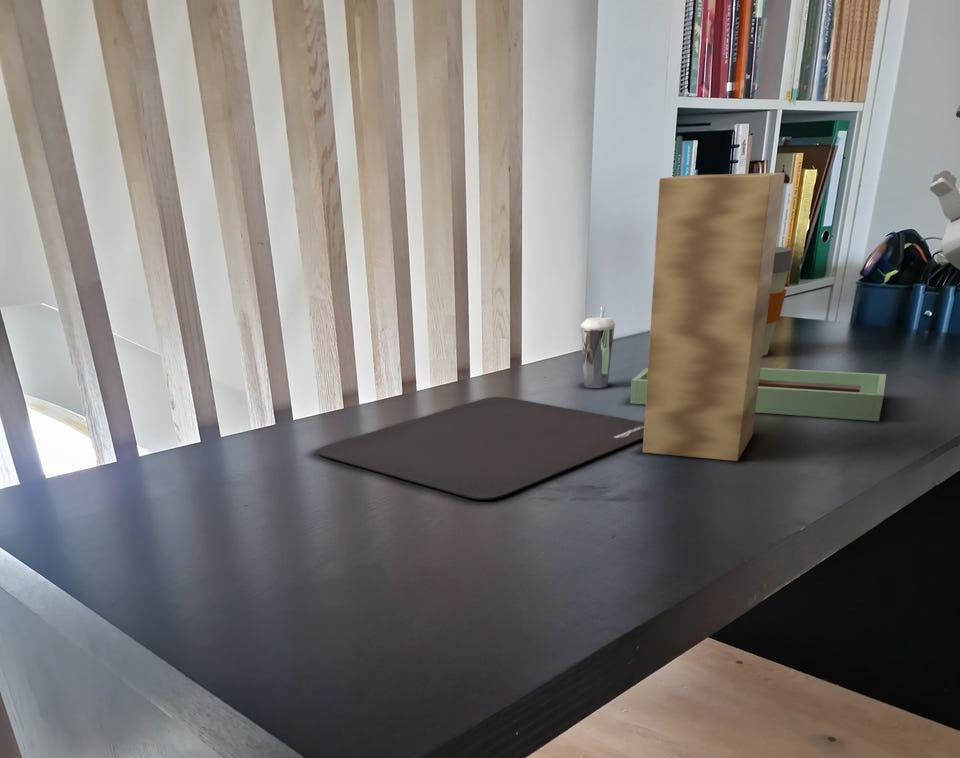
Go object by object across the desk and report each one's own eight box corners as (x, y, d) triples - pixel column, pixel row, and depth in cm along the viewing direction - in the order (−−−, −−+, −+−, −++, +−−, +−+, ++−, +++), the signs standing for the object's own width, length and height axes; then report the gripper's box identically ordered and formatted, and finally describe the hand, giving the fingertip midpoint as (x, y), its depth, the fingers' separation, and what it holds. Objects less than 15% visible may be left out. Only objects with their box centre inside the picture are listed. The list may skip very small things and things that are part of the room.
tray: (881, 398, 109) (886, 374, 107) (878, 421, 100) (883, 395, 98) (652, 384, 120) (653, 361, 118) (630, 403, 111) (631, 380, 109)
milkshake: (616, 381, 122) (619, 306, 117) (608, 390, 117) (611, 313, 112) (584, 380, 123) (586, 306, 118) (576, 388, 119) (577, 312, 114)
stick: (857, 402, 106) (860, 385, 105) (856, 406, 104) (859, 389, 103) (665, 388, 115) (667, 373, 114) (662, 392, 113) (663, 376, 112)
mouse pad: (487, 503, 79) (487, 501, 79) (308, 452, 95) (308, 450, 95) (668, 428, 99) (668, 426, 99) (495, 396, 115) (495, 395, 115)
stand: (752, 435, 96) (785, 172, 84) (737, 461, 88) (771, 175, 76) (664, 428, 100) (682, 175, 87) (642, 452, 92) (659, 178, 79)
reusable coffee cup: (685, 356, 136) (694, 252, 128) (715, 342, 144) (725, 245, 137) (764, 363, 129) (778, 254, 122) (790, 348, 138) (804, 246, 131)
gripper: (1082, 119, 96) (1005, 42, 91) (1030, 280, 94) (948, 209, 89) (1027, 147, 102) (952, 76, 97) (977, 299, 100) (897, 233, 94)
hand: (950, 141), depth 93 cm, fingers open, 8 cm apart
